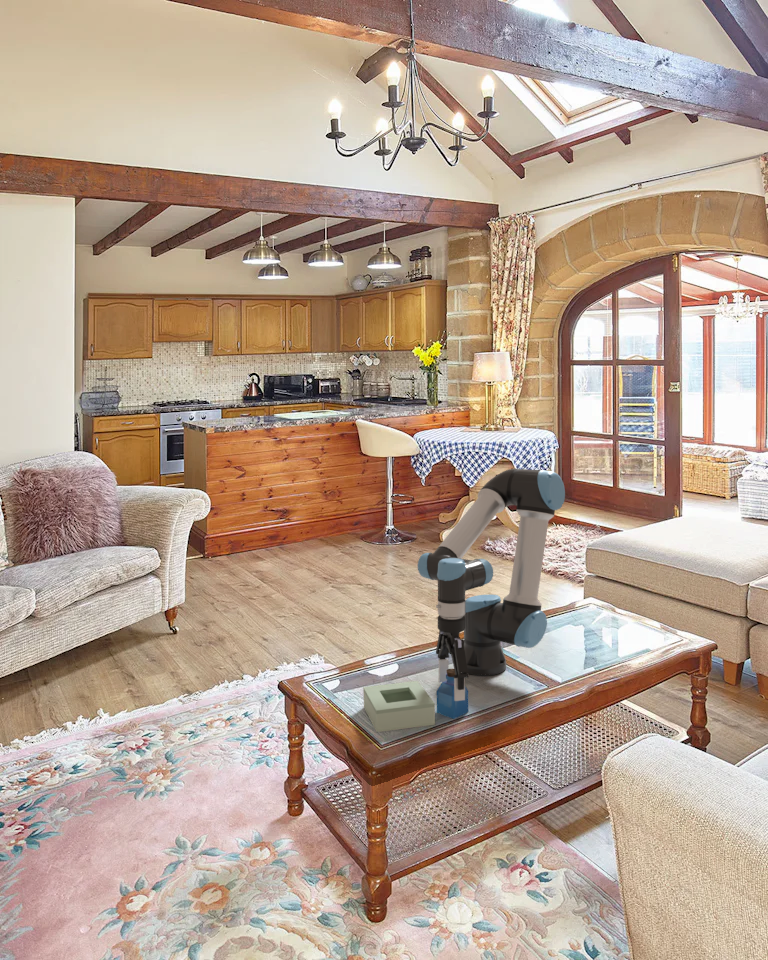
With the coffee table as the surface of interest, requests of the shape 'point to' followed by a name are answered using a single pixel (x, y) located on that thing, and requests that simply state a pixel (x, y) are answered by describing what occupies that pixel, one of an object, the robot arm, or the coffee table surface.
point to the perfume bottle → (450, 698)
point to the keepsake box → (398, 706)
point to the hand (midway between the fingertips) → (451, 690)
